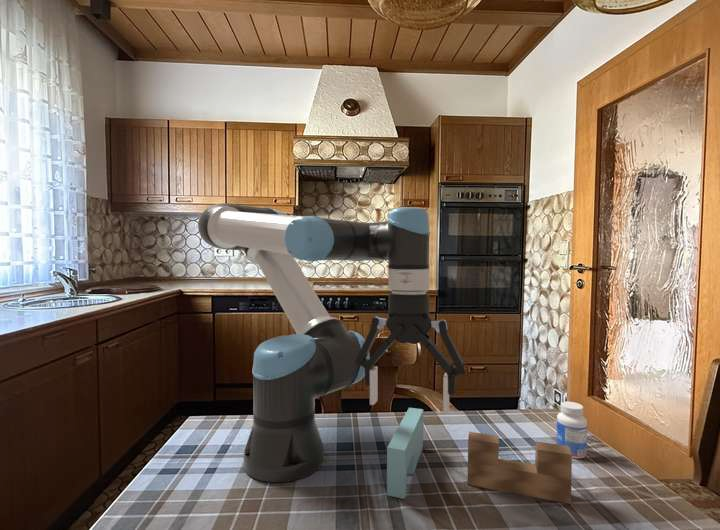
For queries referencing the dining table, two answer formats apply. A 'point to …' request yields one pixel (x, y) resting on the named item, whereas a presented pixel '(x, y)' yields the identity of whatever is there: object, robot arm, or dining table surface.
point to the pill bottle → (572, 429)
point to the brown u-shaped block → (520, 469)
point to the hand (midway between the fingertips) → (408, 407)
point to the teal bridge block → (404, 452)
